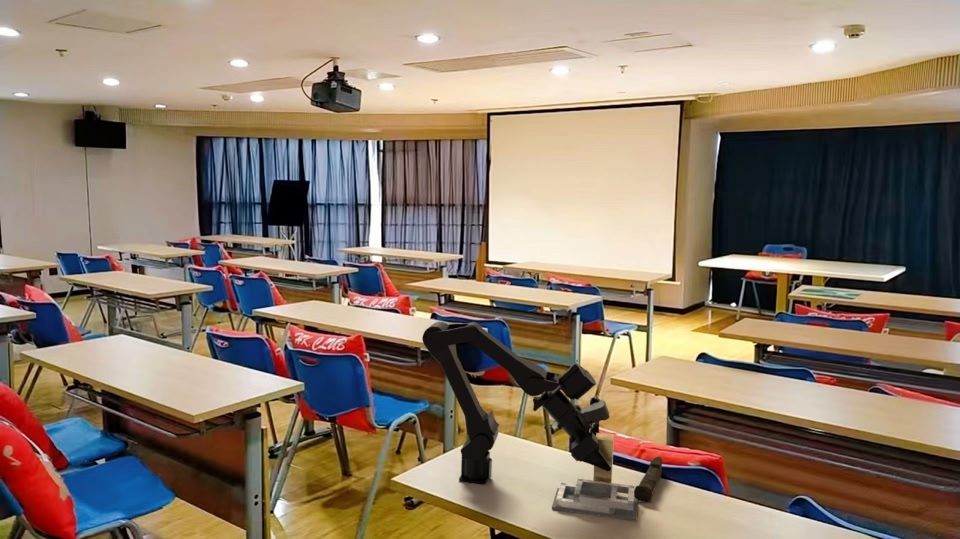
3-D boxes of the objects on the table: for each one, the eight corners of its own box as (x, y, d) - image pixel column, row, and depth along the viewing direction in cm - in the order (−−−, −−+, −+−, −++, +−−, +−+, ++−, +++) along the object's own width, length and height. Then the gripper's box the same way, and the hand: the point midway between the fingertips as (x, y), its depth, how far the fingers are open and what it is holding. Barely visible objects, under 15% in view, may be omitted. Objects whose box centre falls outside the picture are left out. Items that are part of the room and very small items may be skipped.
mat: (551, 509, 145) (551, 506, 145) (557, 490, 154) (557, 487, 154) (636, 521, 141) (636, 518, 141) (637, 501, 150) (637, 498, 150)
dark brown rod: (650, 505, 148) (652, 485, 148) (633, 501, 150) (634, 481, 150) (670, 474, 165) (671, 456, 164) (653, 471, 167) (655, 453, 166)
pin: (592, 493, 153) (595, 438, 152) (594, 485, 157) (596, 432, 156) (610, 495, 152) (613, 440, 151) (611, 487, 156) (614, 434, 155)
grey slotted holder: (555, 506, 145) (556, 493, 145) (560, 488, 154) (561, 476, 153) (632, 517, 141) (633, 503, 141) (633, 498, 150) (634, 485, 149)
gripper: (589, 402, 143) (638, 456, 143) (590, 378, 162) (634, 426, 161) (550, 434, 146) (599, 487, 145) (556, 407, 164) (599, 454, 163)
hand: (609, 461), depth 154 cm, fingers open, 9 cm apart
